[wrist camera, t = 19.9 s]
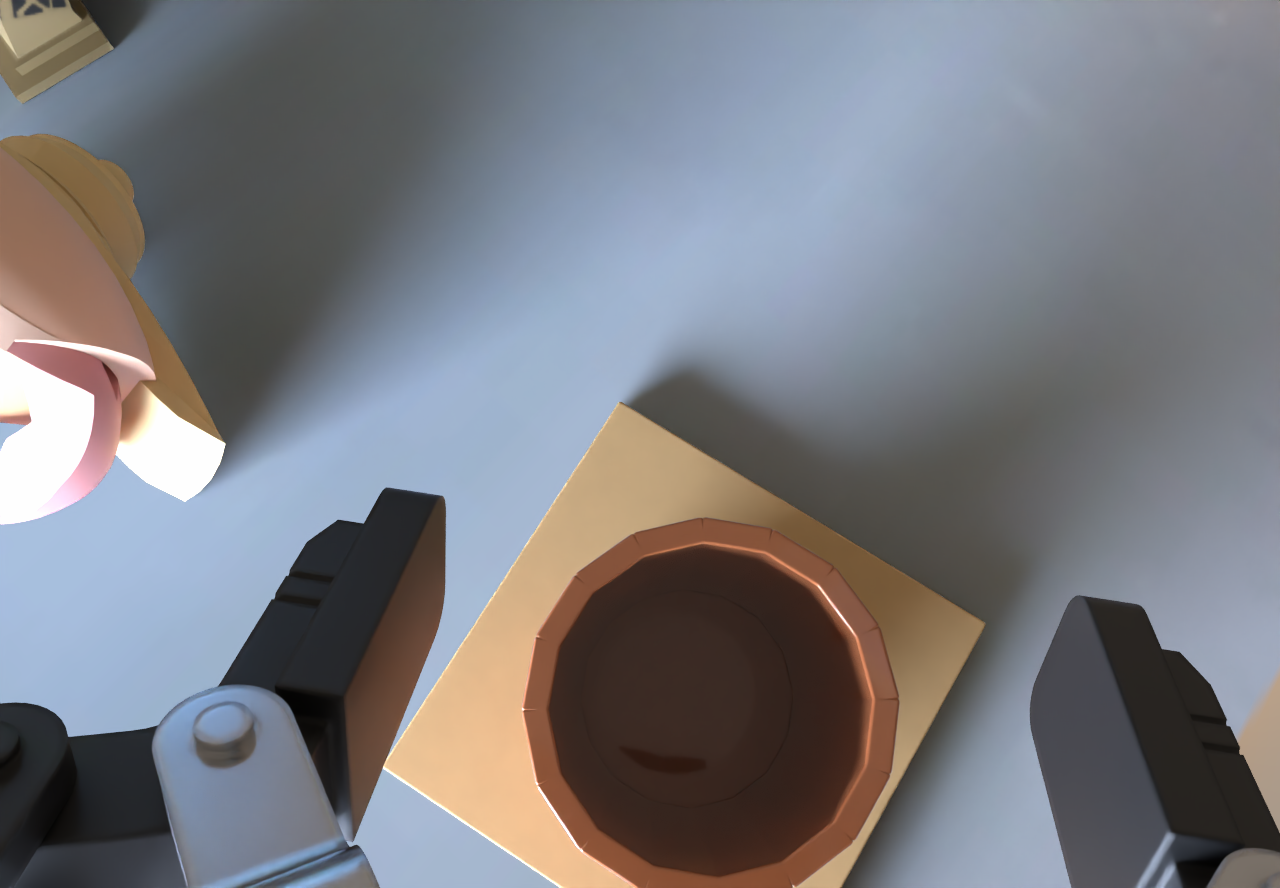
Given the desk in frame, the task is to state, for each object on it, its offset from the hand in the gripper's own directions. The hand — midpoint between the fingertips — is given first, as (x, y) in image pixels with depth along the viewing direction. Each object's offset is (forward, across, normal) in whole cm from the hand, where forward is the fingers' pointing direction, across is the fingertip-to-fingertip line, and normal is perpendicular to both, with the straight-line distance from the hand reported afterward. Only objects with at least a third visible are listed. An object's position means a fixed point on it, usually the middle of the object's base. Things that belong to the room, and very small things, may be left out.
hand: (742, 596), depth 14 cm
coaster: (+7, 0, +9) cm, 12 cm away
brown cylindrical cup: (+7, 0, +9) cm, 11 cm away
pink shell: (+11, +16, +6) cm, 20 cm away
